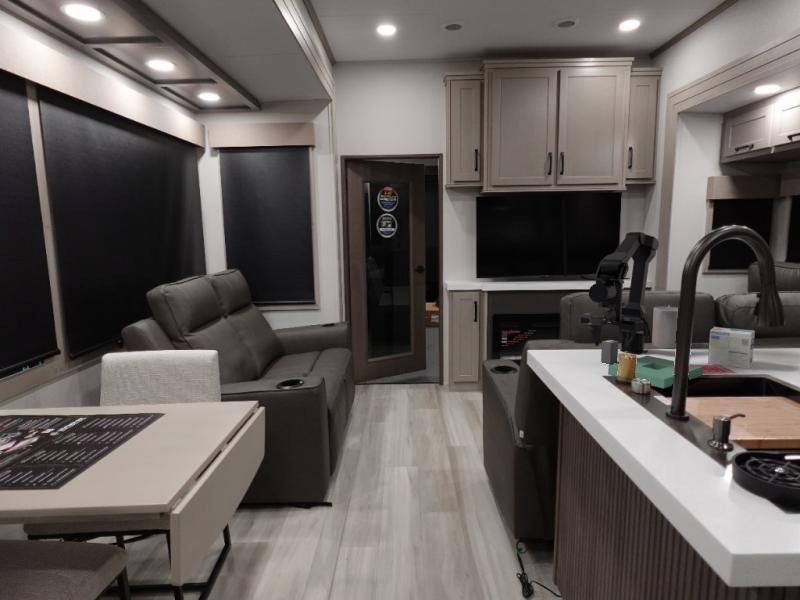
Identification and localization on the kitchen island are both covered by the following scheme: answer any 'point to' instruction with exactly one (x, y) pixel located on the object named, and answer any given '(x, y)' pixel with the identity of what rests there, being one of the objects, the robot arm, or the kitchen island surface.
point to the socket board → (657, 370)
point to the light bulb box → (731, 347)
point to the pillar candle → (664, 326)
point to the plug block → (609, 352)
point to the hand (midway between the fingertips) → (609, 348)
